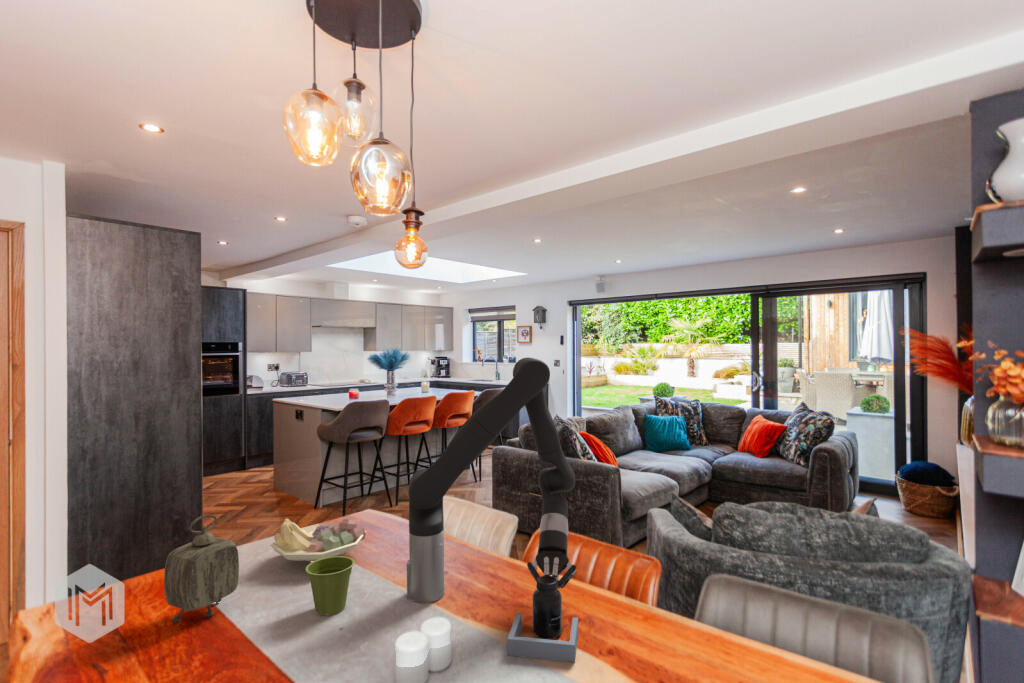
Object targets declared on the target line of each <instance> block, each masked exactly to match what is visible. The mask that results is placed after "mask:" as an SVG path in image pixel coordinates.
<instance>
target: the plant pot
mask: <svg viewBox="0 0 1024 683" xmlns="http://www.w3.org/2000/svg"><path fill="white" fill-rule="evenodd" d="M354 565H355V560H354V559H353V558H351V557H349V556H342V555H338V556H334V557H327V558H322V559H319V560H316V561H314V562H312V563H310V562H309V564H308V565H306V567H305V572H306V573H307V574H308V580H309V581H310V586H311V592H312V598H313V602H314V604H313V605H314V610H315V613H316V614H318V615H320V616H323V615H326V616H334V615H336V614H339V613H340V612H342V611H343V610H344V609H345V607H346V605H347V598H348V591H349V584H350V579H351V575H352V569H353V567H354Z"/></svg>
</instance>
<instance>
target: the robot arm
mask: <svg viewBox="0 0 1024 683" xmlns="http://www.w3.org/2000/svg"><path fill="white" fill-rule="evenodd" d="M550 378H551V371H550V368H549V366H548V365H547V363H546V362H544V361H543V360H541V359H538V358H534V357H523V358H521V359H519V360H518V361H517V362H516V363H515V364H514V367H513V369H512V379H511V380H510V381H509V383H508V384H507V385H506V386H505V387H504V388H503V390H501V391H500V392H499V393H498V394H497V395H495V396H494V397H493V398H491V399H490V400H488V401H486V402H485V403H484V404H483V405H481V406H480V407H478V408H477V409H476V410H475V411H474V412H473V413H472V414H471V415H470V416H469V417H468V418H467V419H466V420H465V421H464V422H463V423H462V425H461V426H460V427H459V428H458V430H457V431H456V433H455V434H454V435H453V436H452V438H451V440H450V442H449V443H448V444H447V446H446V448H445V449H444V451H443V452H442V454H441V455H440V456H439V457H438V458H437V459H436V460H435V461H434V462H433V463H432V464H431V465H430V466H429V467H428V468H422V469H421V468H420V469H419V470H417V471H415V472H414V474H412V476H411V477H410V480H409V482H408V483H409V484H408V492H407V493H408V501H409V502H408V510H409V511H408V534H409V535H408V536H409V537H408V539H409V540H408V543H409V544H408V546H409V547H408V548H409V553H408V554H409V559H408V560H407V562H406V599H410V600H412V601H413V602H415V603H416V602H417V603H421V604H422V603H423V604H424V603H432V602H436V601H439V600H440V599H442V598H443V597H444V595H445V539H444V538H445V533H444V532H445V530H444V529H445V528H444V525H445V524H444V522H445V521H444V518H445V517H444V497H445V495H446V494H447V492H448V491H449V490H450V488H451V487H452V486H453V485H454V483H455V482H456V480H458V478H459V477H460V476H461V475H462V474H463V472H464V471H465V470H467V468H468V467H469V466H471V465H472V464H473V463H474V462H475V461H476V460H477V459H478V457H480V456H481V455H482V454H483V453H484V451H485V452H486V450H487V449H488V448H489V447H490V445H491V444H492V443H493V442H494V441H496V439H497V438H498V437H499V435H500V434H501V433H502V432H503V431H504V429H505V428H507V426H508V425H509V424H510V423H511V421H513V419H515V417H516V416H517V414H519V412H520V411H521V410H522V409H523V408H524V407H525V410H526V412H527V416H528V420H529V424H530V427H531V431H532V436H533V440H534V445H535V448H536V452H537V456H538V458H539V460H540V462H542V463H545V464H546V463H548V464H553V465H554V467H546V468H543V469H541V470H540V472H539V474H538V478H537V479H538V480H537V482H538V485H539V489H540V490H539V491H540V494H541V501H542V502H541V503H542V506H541V507H542V508H541V510H542V511H541V520H540V525H539V534H538V536H539V538H538V546H537V548H538V549H537V554H536V556H535V560H533V561H532V562H530V561H528V562H527V564H526V566H527V569H528V571H529V573H530V574H531V576H532V577H533V579H534V581H535V582H536V583H537V579H538V578H539V577H541V575H540V573H539V572H537V571H538V567H539V570H540V571H541V572H542V573H543V576H552V577H555V578H556V579H557V586H558V589H557V590H560V589H564V588H565V587H566V585H567V584H568V583H569V582H570V581H571V580H572V578H573V577H574V576H575V575H576V574H577V566H576V564H572V563H571V562H570V559H569V556H568V549H569V548H568V545H569V544H568V543H569V523H568V522H569V521H568V517H569V516H568V514H569V513H568V512H569V502H568V500H567V498H566V497H564V496H562V495H557V494H554V493H562V492H564V493H565V492H571V491H572V490H573V489H575V486H576V482H577V480H576V475H575V472H574V470H573V468H572V466H571V465H570V463H569V461H568V459H567V457H566V456H565V454H564V451H563V448H562V445H561V441H560V436H559V432H558V430H557V426H556V424H555V422H554V419H553V417H552V416H553V415H552V414H551V412H550V409H549V406H548V404H547V400H546V396H545V392H544V389H545V388H546V386H547V385H548V383H549V381H550ZM565 569H566V572H565V573H564V574H563V572H564V571H565ZM561 574H563V576H561V578H559V576H560V575H561Z"/></svg>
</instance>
